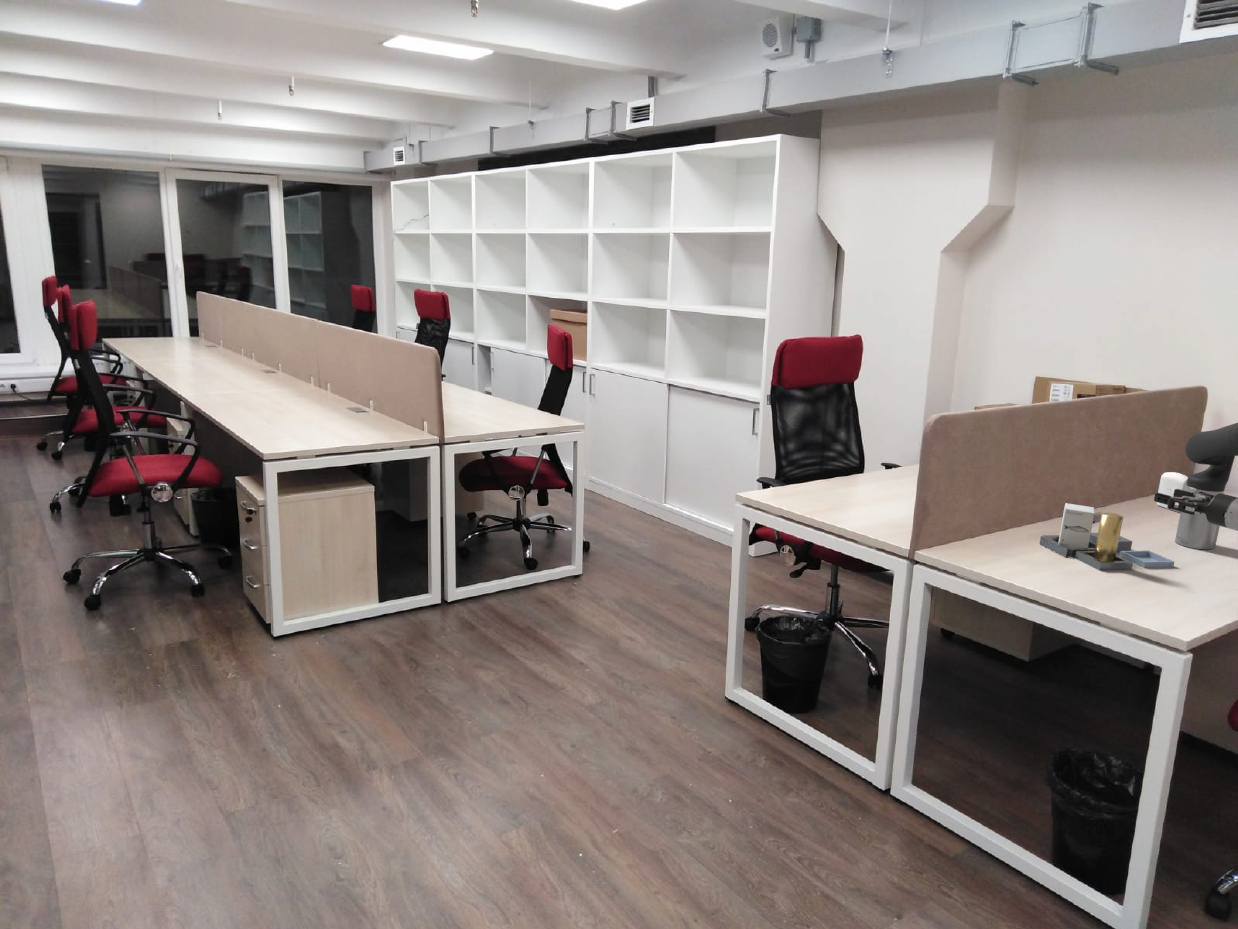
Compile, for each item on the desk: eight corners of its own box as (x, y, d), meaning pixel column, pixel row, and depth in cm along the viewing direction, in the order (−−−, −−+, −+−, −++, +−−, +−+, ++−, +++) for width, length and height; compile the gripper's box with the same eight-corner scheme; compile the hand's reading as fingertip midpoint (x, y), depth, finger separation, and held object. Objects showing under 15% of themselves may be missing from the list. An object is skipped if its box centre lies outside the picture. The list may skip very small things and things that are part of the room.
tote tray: (1147, 557, 239) (1148, 550, 239) (1173, 568, 230) (1174, 561, 230) (1118, 557, 237) (1120, 551, 237) (1143, 569, 229) (1144, 562, 228)
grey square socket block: (1109, 543, 250) (1111, 532, 249) (1130, 553, 242) (1132, 541, 241) (1085, 544, 248) (1087, 532, 247) (1104, 553, 241) (1107, 541, 240)
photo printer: (1153, 504, 296) (1160, 469, 293) (1163, 504, 297) (1170, 469, 294) (1178, 513, 286) (1185, 477, 283) (1189, 513, 287) (1196, 477, 284)
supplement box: (1057, 551, 240) (1064, 508, 237) (1057, 544, 247) (1064, 502, 244) (1086, 557, 237) (1094, 512, 234) (1086, 549, 244) (1094, 506, 241)
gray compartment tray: (1076, 543, 249) (1078, 534, 248) (1135, 571, 227) (1137, 562, 227) (1038, 543, 247) (1039, 535, 246) (1094, 572, 225) (1095, 563, 224)
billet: (1104, 562, 233) (1113, 512, 230) (1118, 568, 228) (1127, 518, 225) (1088, 562, 232) (1097, 512, 229) (1101, 569, 228) (1110, 518, 224)
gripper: (1254, 494, 205) (1183, 477, 218) (1223, 502, 198) (1151, 483, 211) (1247, 524, 207) (1177, 505, 220) (1216, 533, 200) (1145, 512, 213)
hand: (1164, 494), depth 216 cm, fingers open, 8 cm apart
